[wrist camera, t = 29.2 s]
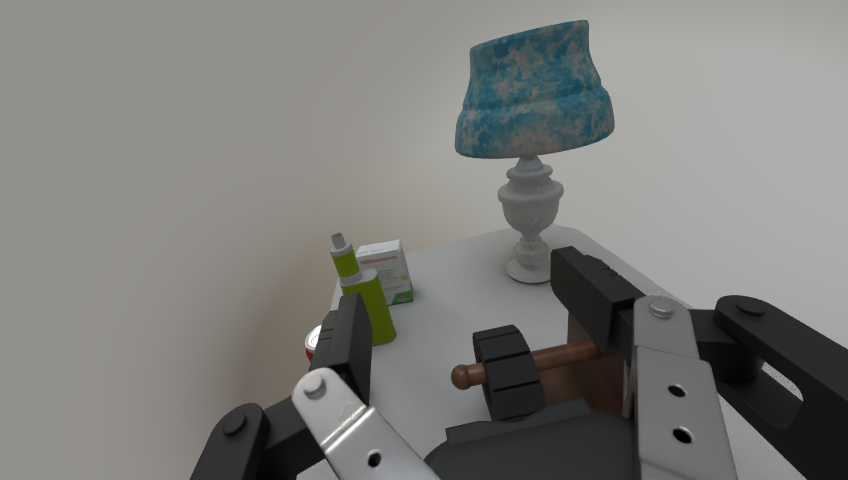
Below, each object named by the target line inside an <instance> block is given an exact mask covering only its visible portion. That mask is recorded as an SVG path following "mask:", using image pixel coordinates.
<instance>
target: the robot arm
mask: <svg viewBox="0 0 848 480" xmlns="http://www.w3.org/2000/svg"><path fill="white" fill-rule="evenodd" d="M550 282H551V287H552V290H553V292H554V294H555V295H556V297H557V298H558V299H559V300H560V302H561V303H562V304H563V305H564V306H565V307H566V309H567V310H568V311H569V312H570V313H571V315H572V316H573V317H574V318H575V319H576V321H577V322H578V323H579V324H580V325H581V327H582V328H583V329H584V330H585V331H586V333H587V334H588V335H589V336H590V337H591V338H592V340H593V341H594V342H595V343H596V344H597V346H598V347H599V348H600V349H601V350H602V352H603V353H604V354H605V355H610V354H614V353H620V354H621V356H622V357H623V358H624V359H625V361H624V378H623V410H622V416H621V415H619V414H616V413H612V412H608V411H604V410H598V409H590V407H589V406H588V404H587V402H586V401H585V399H584V398H583V397H582V398H578V399H574V400H569V401H565V402H560V403H556V404H552V405H549V406H547V407H545V408H543V409H541V410H540V411H538V412H536V413H534V414H532V415H531V416H529V417H527V418H525V419H523V420H522V421H519V422H495V421H477V422H472V423H468V424H464V425H459V426H455V427H450V428H446V429H445V430H446V436H447V441H445V442H444V443H442V444H440V445H439V446H438V447H436V448H435V449H434V450H433V451H431V452H430V453H429V454H428V455H427V456H426V457H425V459H424V460H422V459H421V458H420V456H419V455H418V454H417V453H416V452H415V451H414V450H413V449H412V448H411V447H410V446H409V445H408V443H407V442H406V441H405V440H404V439H403V438H402V437H401V436H400V435H399V434H398V433H397V432H396V431H395V429H394V428H393V427H392V426H391V425H390V424H389V423H388V422H387V421H386V420H385V419H384V418H383V416H382V415H381V414H380V413H379V412H378V411H377V410H376V409H375V408H374V407H373V406H371V405H369V391H370V374H371V357H372V339H373V332H372V325H371V321H370V318H369V315H368V312H367V309H366V306H365V304H364V301H363V298H362V295H361V293H360V292H359V293H354V294H349V295H345V296H341V298H340V302H339V307H338V310H334V311H330V312H329V314H328V315H327V316H326V318H325V319H324V320H323V322H322V325H321V329H320V333H319V336H318V342H317V343H316V347H315V350H314V354H313V357H312V361H311V364H310V368H309V372H308V373H307V374H306V375H305V376H304V377H302V378H301V379H300V380H299V381H298V383H297V384H296V386H295V387H294V389H293V392H292V395H291V396H290V397H288V398H286V399H285V400H283V401H281V402H279V403H277V404H275V405H273V406H271V407H269V408H267V409H265V410H262V408H261V407H260V406H259V405H258V404H255V403H248V404H244V405H241V406H239V407H237V408H235V409H233V410H232V411H230V412H229V413H228V414H226V415H225V416H224V417H223V418H222V419H221V420H220V421H219V422H218V424H217V425H216V426H215V428H214V429H213V431H212V433H211V435H210V437H209V439H208V441H207V443H206V446H205V448H204V450H203V452H202V454H201V456H200V458H199V461H198V463H197V465H196V467H195V469H194V471H193V473H192V476H191V478H190V480H296V477H297V475H298V474H299V473H301V472H303V471H304V470H306V469H308V468H309V467H311V466H313V465H315V464H316V463H318V462H320V461H321V460H323V459H325V458H326V460H327V461H328V463H329V465H330V466H331V468H332V470H333V471H334V473H335V474H336V476H337V478H338V479H339V480H738V476H737V472H736V468H735V464H734V460H733V456H732V452H731V447H730V443H729V439H728V435H727V431H726V427H725V423H724V419H723V414H722V410H721V406H720V402H719V398H718V394H717V392H718V393H719V394H720V395H721V396H722V397H723V398H724V399H725V400H726V401H727V402H728V403H729V404H730V405H731V406H732V407H733V408H734V409H735V410H736V411H737V412H738V413H739V414H740V415H741V416H742V417H743V418H744V419H745V420H746V421H747V422H748V423H749V424H751V425H752V426H753V427H754V428H755V429H756V430H757V431H758V432H759V433H760V434H761V435H762V436H763V437H764V438H765V439H766V440H767V441H768V442H769V443H770V444H771V445H772V446H773V447H774V448H775V449H776V450H777V451H778V452H779V453H780V454H781V455H782V456H783V457H784V458H785V459H786V460H788V461H789V462H790V463H791V464H792V465H793V466H794V467H795V468H796V469H797V470H798V471H799V472H800V473H801V474H802V475H803V476H804V477H805V478H806V479H807V480H848V349H846V348H844V347H843V346H841V345H839V344H838V343H836V342H834V341H832V340H831V339H829V338H827V337H825V336H824V335H822V334H820V333H819V332H817V331H815V330H814V329H812V328H810V327H809V326H807V325H805V324H804V323H802V322H800V321H798V320H797V319H795V318H793V317H792V316H790V315H788V314H786V313H785V312H783V311H781V310H780V309H778V308H776V307H774V306H773V305H771V304H769V303H767V302H764V301H762V300H759V299H755V298H751V297H747V296H739V295H731V296H730V295H729V296H724V297H722V298H720V299H719V300H718V301H717V304H716V307H715V310H699V309H687V308H686V307H684V306H683V305H682V304H680V303H678V302H676V301H674V300H672V299H669V298H666V297H661V296H646V295H645V294H644V293H642V292H641V291H640V290H639V289H637V288H636V287H635V286H633V285H632V284H631V283H629V282H628V281H627V280H626V279H624V278H623V277H622V276H620V275H618V273H617V272H615V271H614V270H613V269H610V267H609V266H608V265H606V264H605V263H604V262H602V261H601V260H599V259H597V258H594V257H592V256H589V255H583V254H581V253H580V252H579V251H578V250H577V249H575V248H574V247H573V246H568V247H564V248H559V249H555V250H552V251H551V267H550ZM764 362H767V363H768V364H769V365H771V366H772V367H773V368H775V369H776V370H777V371H779V372H780V373H781V374H782V375H784V376H785V377H786V378H788V379H789V380H790V381H792V382H793V383H794V384H795V385H796V386H797V387H798V389H799V390H800V392H801V394H802V396H803V401H801V400H800V399H799V398H798V397H796V396H795V395H794V394H792V393H791V392H790V391H789V390H787V389H786V388H785V387H784V386H782V385H781V384H780V383H778V382H777V381H776V380H775V379H773V378H772V377H771V376H770V375H768V374H767V373H766V372H764V371H763V370H762V366H763V364H764Z"/></svg>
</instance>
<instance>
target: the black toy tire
mask: <svg viewBox="0 0 848 480" xmlns="http://www.w3.org/2000/svg"><path fill="white" fill-rule="evenodd" d="M473 346H474V352H475V358H476V363H481V362H482V365H483V368H484V371H485V374H486V378H487V381H488V383H484V384H482V388H483V392H484V395H485V398H486V403H487V406H488V409H489V412H490V416H491V419H492V421H495V422H519V421H522V420H523V419H525V418H527V417H529V416H531V415H532V414H534V413H536V412H538V411H540V410H541V409H543V408H545V407H547V403H546V398H545V394H544V389H543V385H542V383H541V382H540V381H539V380H541V378H540V375H539V372H538V370H537V367H536V364H535V361H534V358H533V356H532V354H530V349H529V347H528V345H527V343H526V341H525V339H524V337H523V335H522V333H520V330H519V329H517V328H516V327H515V326H514V325H508V326H503V327H498V328H494V329H489V330H484V331H480V332H475V333H473Z"/></svg>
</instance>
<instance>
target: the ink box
mask: <svg viewBox="0 0 848 480" xmlns="http://www.w3.org/2000/svg"><path fill="white" fill-rule="evenodd" d="M355 257H356V260H357V263H358V266H359V268H360V270H363V269H368V268H375V269H376V270H377V273H378V276H379V280H380V283H381V286H382V290H383V293H384V296H385V299H386V303H387V305H392V304H397V303H403V302H409V301H412V300H413V288H412V284H411V280H410V276H409V272H408V268H407V264H406V260H405V256H404V252H403V248H402V244H401V240H394V241H388V242H383V243H377V244H372V245H366V246H360V247H359V248H358V251H357V253H356V256H355Z"/></svg>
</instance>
